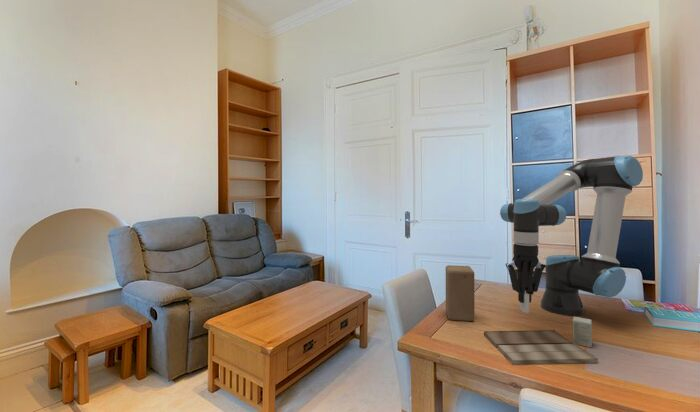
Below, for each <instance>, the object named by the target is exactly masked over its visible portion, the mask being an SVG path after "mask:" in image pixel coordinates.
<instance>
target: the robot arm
mask: <svg viewBox="0 0 700 412" xmlns="http://www.w3.org/2000/svg"><path fill="white" fill-rule="evenodd" d="M643 178H644V172H643V168H642V164H641V162H640V161H639V160H638V159H637V157H634V156H632V155H615V156H607V157H598V158H588V159H585V160H582V161H579V162H578V163H575V164H572V165H571V166H569V167H567V168H565V169H563V170H562V171H560V172H558V174H557V175H556V177H555V178H553V179H552V180H550V181H549V182H547V183H545V184H544V185H542V186H540V187H539V188H537V189H535V190H534V191H532V192H530V193H529V194H527V195H526V196H524V197H522V198H520V199H515V200H514V203H511V202H509V203H505V204H502V206H501V207H500V211H499V215H500V217H501V219H502V220H503V221H504V222H507V223H512V224H513V243H514V244H513V246H512V251H513V252H512V254H513V257H512V260H511V261H510V262H509V263H508V262H507V263H505V267H506V269H507V270H508V274H509V278H510V285H511V288H512V290H513V291H515V292H517V294H518V297H517V299H518V302H519V304H520V307H519V308H520V312H523V313H524V314H529V313H530V303H531V302H532V295H534V293H537V292H538V290H539V286H540V284H541V283H540V282H541V278H542V275H543V272H544V270H545V289H544V291H543V295H542V298H540V299H541V300H540V307H541V308H542V309H544V310H546V311H548V312H551V313H555V314H559V315H563V316H564V315H565V316H579V315H580V316H581V315H583V314H584V311H585V309H584V304H583V302H582V299H581V297H580V294H579V291H582V292H585V293H589V294H593V295H595V296H600V297H605V298H613V297H616V296H618V294H620V293H621V292H622V290H624V287H625V285H626V282H627V281H626V280H627V275H626V271H625V270H624V269H623V268H621V267H620V265H621V263H620V261H619V259H617V250H618V245H619V239H620V238H619V237H620V233H621V228H622V221H623V215H624V208H625V204H626V203H625V202H626V196H628V195H629V194H631V193H632V192H633V187H636V186H638V185H640V184H641V182H642V181H643ZM583 188H592V189H593V191H594V193H596V198H595V199H596V200H595V205H594V210H593V215H592V216H593V218H592V222H591V228H590V233H589V240H588V244H587V245H588V246H587V252H586V253H584V254H583V255H581V258H580V257H579V256H578V255H575V254H574V255H573V254H556V255H555V254H554V255H553V254H552V255H548V256H547V257H546V259H545V264H544V263H541V262H540V261H539V258H538V255H539V245H538V244H539V243H540V241H539V237H540V235H539V233H540V232H539V230H540V229H539V227H549V226H550V227H555V226H559V225H562V224H563V223H564V222H565V221H566V219H567V211H566V210H565V207H563V206H561V205H560V204H554V202H556V201H557V200H560V198H562V197H564V196H565V195H566V194H567V193H569V192H575V191H577V190H579V189H583ZM552 203H553V204H552Z"/></svg>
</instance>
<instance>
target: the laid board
mask: <svg viewBox="0 0 700 412" xmlns="http://www.w3.org/2000/svg"><path fill="white" fill-rule="evenodd" d="M497 350H498V352H500V353H501V354H502V355H503V357H505V358H506V360H508V361H509V362H510V363H511V365H553V364H555V365H556V364H557V365H559V364H563V365H564V364H566V365H567V364H598V363H599V358H597V357H596V356H594V355H593V354H591V353H590V352H589V351H587V350H585V349H584V348H583V347H581V346H579V344H574V343H573V344H538V345H498V348H497Z"/></svg>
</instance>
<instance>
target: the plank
mask: <svg viewBox="0 0 700 412" xmlns="http://www.w3.org/2000/svg"><path fill="white" fill-rule="evenodd" d="M483 335H484V337H485V339H487V340H488V341H489V342H490V343H491V344H492V345H493V346H494V347H495V348H496V349H498V345H538V344H574V343H573V340H570V339H568V338H566V337H565V336H564V335H562V334H561V333H559V332H557V331H556V330H555V329H550V330H549V329H548V330H547V329H541V330H540V329H538V330H537V329H536V330H492V331H491V330H490V331H489V330H488V331H486V330H485V331H484V330H483Z"/></svg>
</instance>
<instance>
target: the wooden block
mask: <svg viewBox="0 0 700 412" xmlns="http://www.w3.org/2000/svg"><path fill="white" fill-rule="evenodd" d="M445 312H446V316H447V319H448V320H449V321H451V320H452V321H465V322H474V321H475V271H474V270H473V269H472V267H470V266H469V265H450V264H449V265H448V264H447V265H446V266H445Z"/></svg>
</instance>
